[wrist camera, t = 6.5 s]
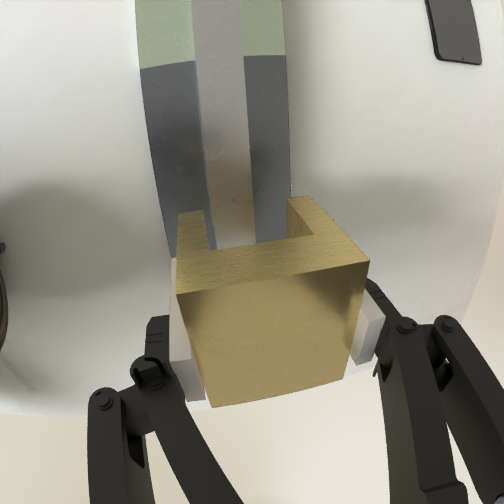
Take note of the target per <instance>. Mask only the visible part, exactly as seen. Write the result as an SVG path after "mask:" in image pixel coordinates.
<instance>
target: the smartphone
mask: <svg viewBox="0 0 504 504" xmlns="http://www.w3.org/2000/svg"><path fill="white" fill-rule="evenodd" d="M425 5H426V10H427V14H428V19H429V24H430V29H431V35H432V41H433V47H434V54H435V56H436V58H437V59H438V60H442V61H452V62H460V63H467V64H474V65H480V64H481V62H482V59H481V52H480V45H479V39H478V33H477V27H476V22H475V17H474V13H473V9H472V4H471V0H425Z"/></svg>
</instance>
